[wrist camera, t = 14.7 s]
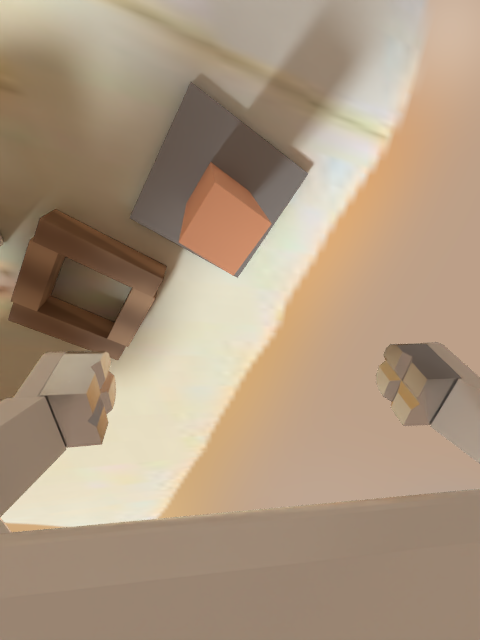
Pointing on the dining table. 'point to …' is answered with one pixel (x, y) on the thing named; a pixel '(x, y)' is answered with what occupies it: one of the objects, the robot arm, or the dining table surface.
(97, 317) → the socket holder
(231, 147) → the slate mat
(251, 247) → the terracotta peg
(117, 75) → the dining table surface
